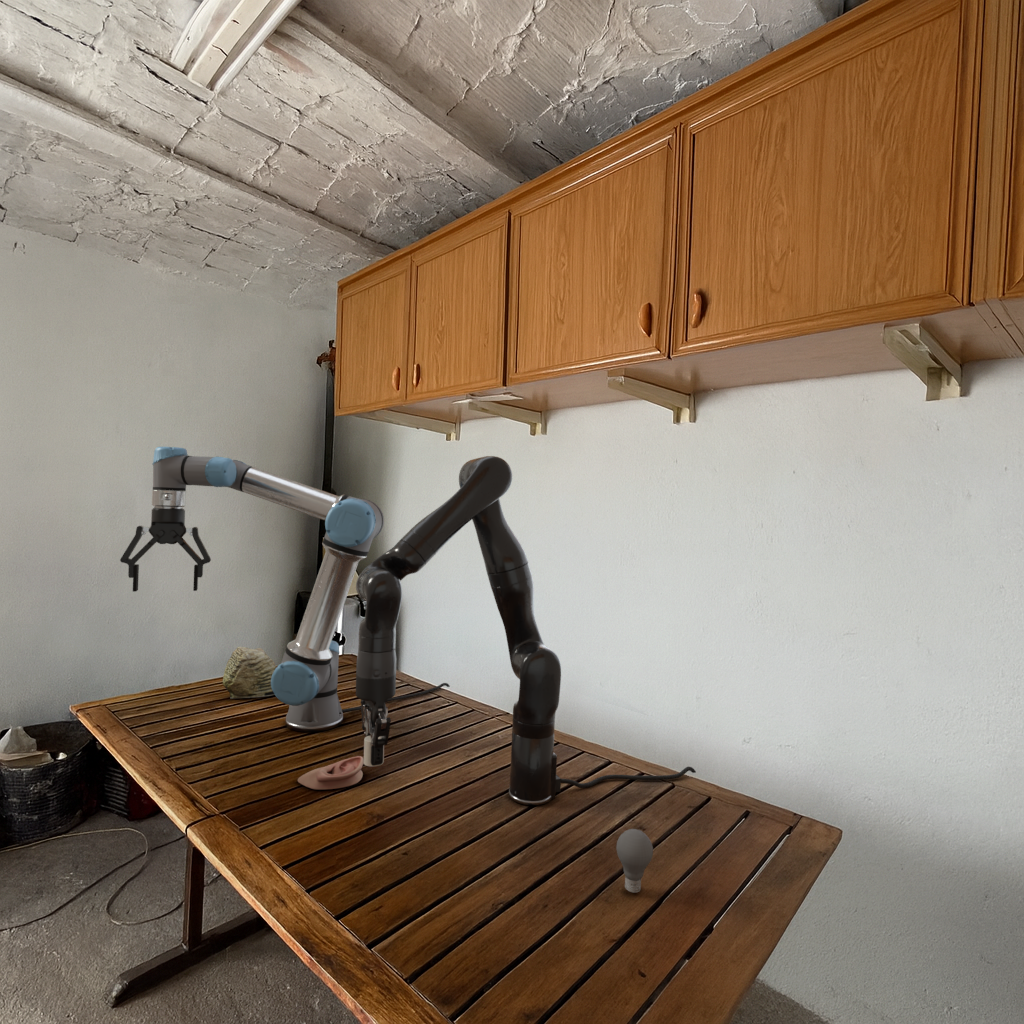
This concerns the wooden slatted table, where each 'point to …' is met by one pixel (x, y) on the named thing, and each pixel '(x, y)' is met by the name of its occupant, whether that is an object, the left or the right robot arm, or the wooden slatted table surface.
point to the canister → (369, 751)
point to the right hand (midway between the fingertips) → (373, 759)
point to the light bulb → (634, 857)
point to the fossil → (249, 673)
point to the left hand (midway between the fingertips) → (165, 590)
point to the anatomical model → (334, 775)
